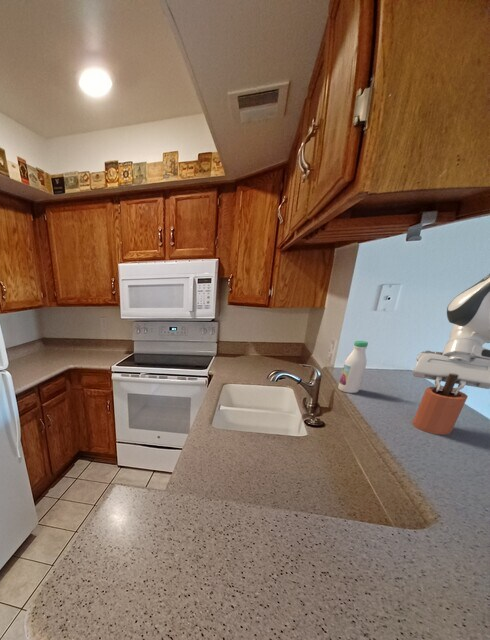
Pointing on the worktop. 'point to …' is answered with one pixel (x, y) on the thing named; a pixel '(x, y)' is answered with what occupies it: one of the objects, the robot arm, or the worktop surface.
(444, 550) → the worktop surface
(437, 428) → the jar
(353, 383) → the milk bottle
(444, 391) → the brush
